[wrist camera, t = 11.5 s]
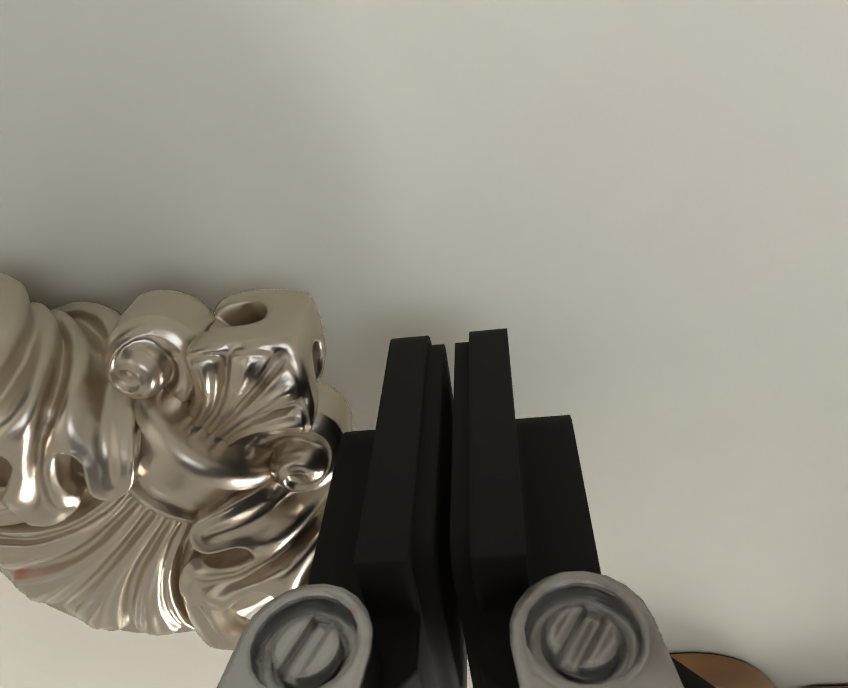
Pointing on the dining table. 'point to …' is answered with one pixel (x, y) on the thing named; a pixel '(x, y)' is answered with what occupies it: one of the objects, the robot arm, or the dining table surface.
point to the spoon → (727, 671)
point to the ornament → (164, 456)
